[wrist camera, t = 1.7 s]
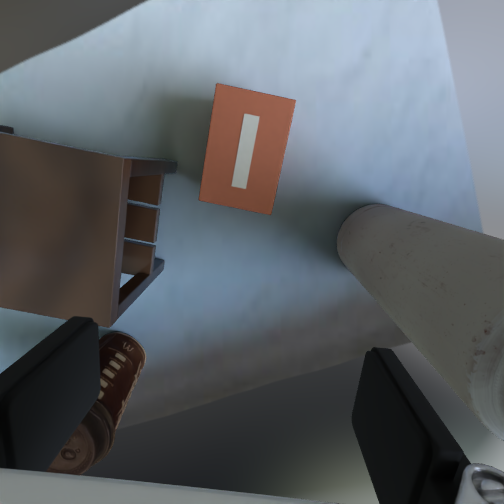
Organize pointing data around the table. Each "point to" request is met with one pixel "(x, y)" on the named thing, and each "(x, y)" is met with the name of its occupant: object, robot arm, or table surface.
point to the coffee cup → (103, 405)
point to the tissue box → (245, 148)
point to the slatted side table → (76, 228)
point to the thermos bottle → (437, 296)
